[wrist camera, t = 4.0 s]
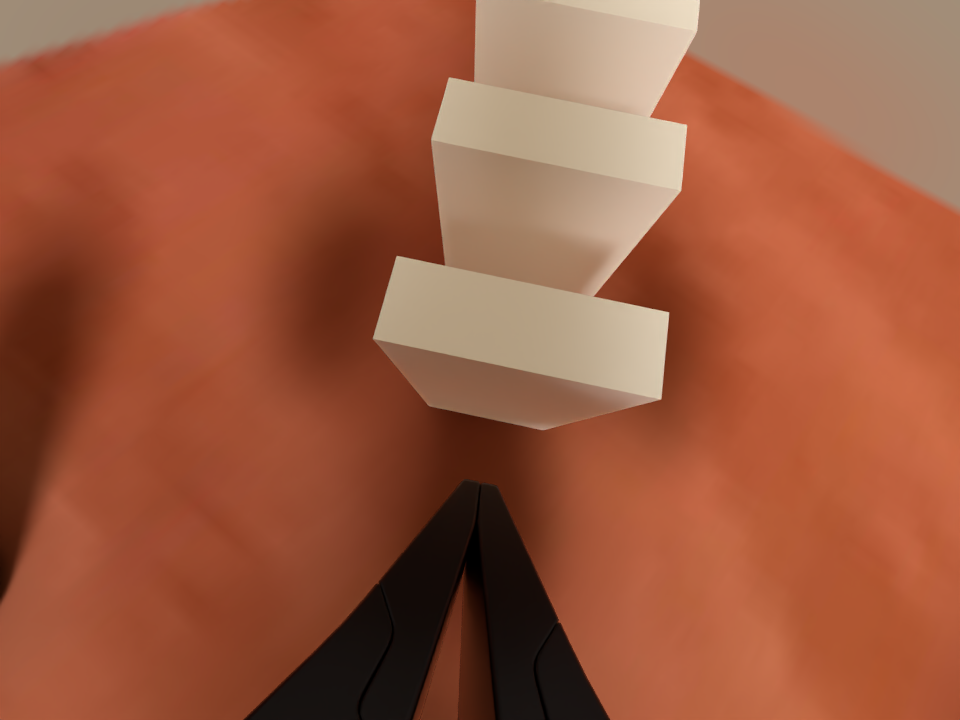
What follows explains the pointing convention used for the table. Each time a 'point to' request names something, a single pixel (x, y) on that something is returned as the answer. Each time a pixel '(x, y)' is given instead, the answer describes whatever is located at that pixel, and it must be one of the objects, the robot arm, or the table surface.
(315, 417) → the table surface
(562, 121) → the domino
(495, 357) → the domino
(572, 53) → the domino
